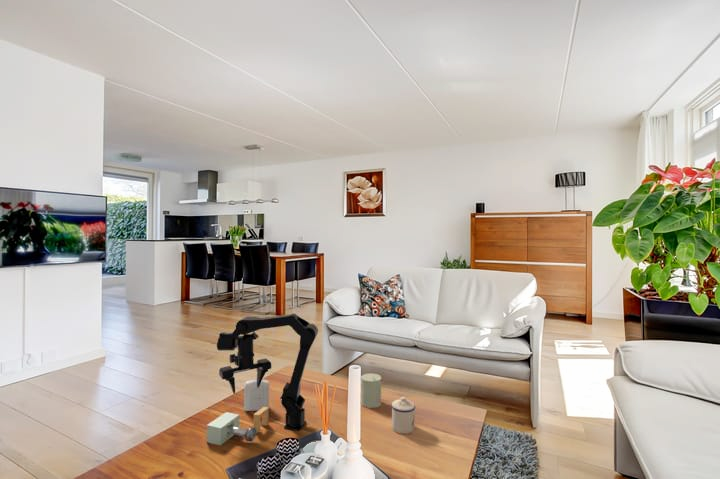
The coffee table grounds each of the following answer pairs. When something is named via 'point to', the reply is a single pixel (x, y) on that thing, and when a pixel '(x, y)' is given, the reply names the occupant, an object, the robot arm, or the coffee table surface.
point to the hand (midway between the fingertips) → (246, 390)
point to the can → (371, 390)
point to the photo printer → (256, 395)
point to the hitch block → (221, 428)
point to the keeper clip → (257, 417)
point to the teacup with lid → (403, 415)
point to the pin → (242, 432)
